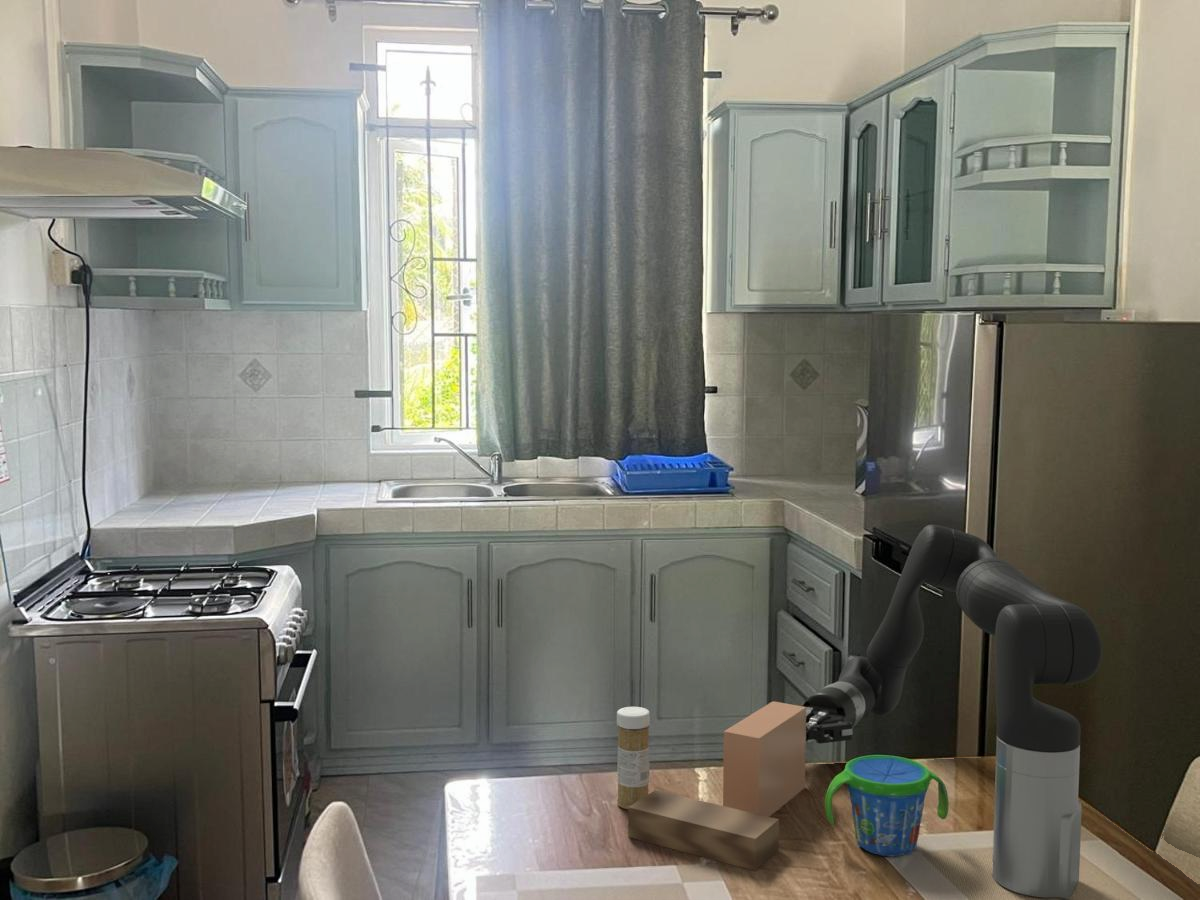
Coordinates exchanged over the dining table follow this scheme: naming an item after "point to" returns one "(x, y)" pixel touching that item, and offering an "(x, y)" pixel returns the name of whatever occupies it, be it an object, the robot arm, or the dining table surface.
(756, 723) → the block
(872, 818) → the snack cup
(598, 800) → the dining table surface
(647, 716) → the sprinkles bottle
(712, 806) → the brown wooden bar
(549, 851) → the dining table surface
